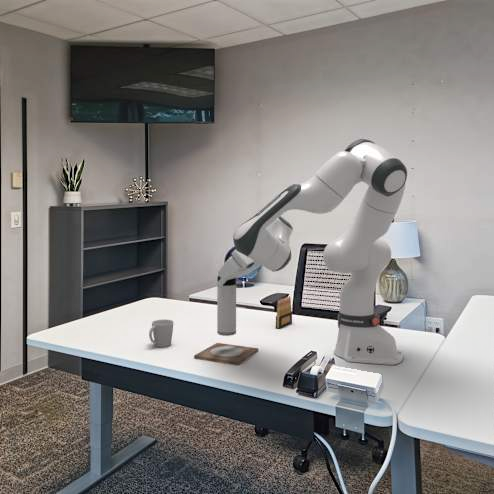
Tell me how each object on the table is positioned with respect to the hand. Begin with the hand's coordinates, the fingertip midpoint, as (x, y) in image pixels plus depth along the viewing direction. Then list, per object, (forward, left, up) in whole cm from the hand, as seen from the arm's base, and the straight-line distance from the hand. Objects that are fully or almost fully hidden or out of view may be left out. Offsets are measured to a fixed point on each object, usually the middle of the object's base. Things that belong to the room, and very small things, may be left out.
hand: (225, 282), depth 163 cm
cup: (+25, +1, -25) cm, 35 cm away
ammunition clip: (-5, -44, -25) cm, 50 cm away
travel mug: (-1, 0, -17) cm, 17 cm away
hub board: (-1, 0, -24) cm, 24 cm away
